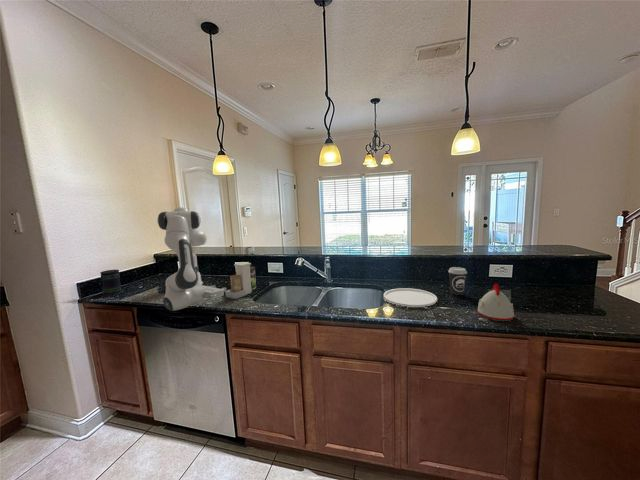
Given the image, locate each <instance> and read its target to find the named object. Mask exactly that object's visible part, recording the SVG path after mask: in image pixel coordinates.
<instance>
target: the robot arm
mask: <svg viewBox="0 0 640 480" xmlns="http://www.w3.org/2000/svg"><path fill="white" fill-rule="evenodd" d="M156 221H157V225H158V227H159V229H161V230H162V231H163V230H164V231H165V236H164V244H165V245H166V247H167V248H168V249H170V250H171V251H174V253H175V254H176V256H177V258H178V264H179V267H178V268H177V271H176V272H174V273H173V274H171V275H169V276H168V277H167V278H166V279H165V281H164V285H165V293H164V296H163V300H162V302H163V305H164V307H165V308H166V309H167V310H168V311H171V312H172V311H179V310H183V309H185V308H188V307H189V306H195V305H199V304H200V303H203V302H205V300H206V299H210V300H213V299H218V298H221V297H224V296H225V293H224V292H225V291H227V287H221V288H218V287H216V285H204V281H202V276H201V273H200V272H199V265H198V258H197V254H195V253H194V252H193V247H195V248H196V247H199V246H200V247H201V246H203V245H205V244H206V242H207V240H208V239H207V235H206V233H205V232H204V231H202V230H200V229H198V228H200V225H201V222H202V221H201V217H200V215H199V212H197V211H194V210H193V211H192V210H191V211H189V210H188V209H187V208H185V207H177V208H175V209H173V210H172V211H162V212H160V213H159V214H158V215H157V220H156Z"/></svg>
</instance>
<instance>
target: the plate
mask: <svg viewBox="0 0 640 480" xmlns="http://www.w3.org/2000/svg"><path fill="white" fill-rule="evenodd" d="M383 300H384V302H386V301H387V302H389V303H392V304H396V305H401V306H407V307H425V306H430V305H433V304H435V303H436V302H437V303H438V296H436V295H435V294H434V293H433V292H430V291H427V290H424V289H418V288H410V287H409V288H406V287H404V288H403V287H402V288H401V287H399V288H393V289H387V290H386V291H385V292H383ZM387 302H386V303H387ZM389 303H388V304H389Z"/></svg>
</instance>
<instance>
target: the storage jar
mask: <svg viewBox="0 0 640 480" xmlns="http://www.w3.org/2000/svg"><path fill="white" fill-rule="evenodd" d="M120 275H121V274H120V270H119V269H108V270H103V271H100V280H101V283H102V287H101V290H102V295H103V296H114V295H118V294H120V293H122V284H121V276H120Z"/></svg>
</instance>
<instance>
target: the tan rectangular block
mask: <svg viewBox="0 0 640 480" xmlns="http://www.w3.org/2000/svg"><path fill="white" fill-rule="evenodd" d="M240 277H241V276H240V275H236V274H233V275H230V276H229V278H230V290H231V292H235V293H236V292H239V291H241V283H240Z"/></svg>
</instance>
